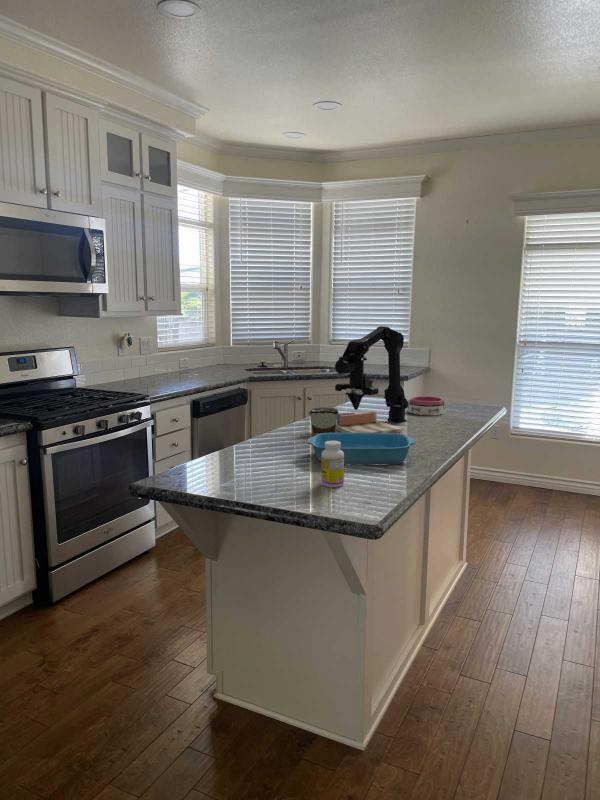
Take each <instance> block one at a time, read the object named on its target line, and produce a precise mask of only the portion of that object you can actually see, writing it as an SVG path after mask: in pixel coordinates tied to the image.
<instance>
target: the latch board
mask: <svg viewBox="0 0 600 800" xmlns="http://www.w3.org/2000/svg"><path fill="white" fill-rule="evenodd" d="M347 414H357V413H356V412H344V413H339V415H338V414H337V423H336V430H337V431H338V432H340V433H397V434H400V433H403V428H402V427H399V426H396V425H392V424H390V423H386V422H384V421H381V420H378V419H376V422H372V423H362V424H353V425H343V426H342V425H339V417H340V415H347ZM399 432H400V433H399Z"/></svg>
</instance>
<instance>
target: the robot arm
mask: <svg viewBox="0 0 600 800" xmlns="http://www.w3.org/2000/svg"><path fill="white" fill-rule="evenodd" d="M404 337H405V336H404V334H402V332H398V331H397V330H394V329H391V328H390V327H389V326H381V325H380V326H378V327H377V328H376V329H374V330H372V331H371V332H369V333H368V334H366V335H365V336H363V337H360V338H358V339H357V338H356V339H353V340H350V341H349V342H348V343H347V346H346V348H345V350H344V352H343V354H342V356H338V360H337V361H336V362H335V364H334V368H335V371H336V373H337V374H338V375H344V374H347V378H348V379H349V380H348V381H349V383H347V382H340V383H336V385H335V387H334V390H335V392H342V390H343V391H344V390H345V391H346V392H345V395H346V396H347V397H348V399H349V401H350V403H351V405H352V407H353V409H354V411H357V410H359V406H360V405H361V402H362V399H363V398H364V396H373V395H378V394H379V388H378V386H373V384H374V383H373V382H374V381H373V380H372V379H370V378H367V375H366V373H365V374H364V369H365V368H364V367H365V366H364V365H365V364H364V362H365V361H367V360H368V358H367V357H366V355H365V354H367V353H368V352H369V351H370V347H372V346H374V345H375V344H376V343H378V342H379V341H383V346H384V349H385V350H386V352H387V356H388V360H387V361H388V386H387V388H386V389H384V391H383V392H384V399H385V400H384V401H385V405H386V407H387V408H389V410H388V418H386V419H387V421H389V422H393V423H402V422H408V420H407V419H406V409H407V410H408V407H409V402H410V401H408V400H407V398H406V395H405V390H404V388H403V387H402V385H401V357H400V356H401V355H400V353H401V351H402V350H403V348H404V343H405V342H404V341H405V338H404Z"/></svg>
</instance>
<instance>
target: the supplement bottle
mask: <svg viewBox="0 0 600 800" xmlns="http://www.w3.org/2000/svg"><path fill="white" fill-rule="evenodd" d="M340 447H341V442H339V441H326V442H325V450H324V451H323V452H322V454H321V461H320V462H321V466H320V467H321V477H320V479H321V480H320V481H321V482H320V483H321V484H322V486H323V485H324V487H326V486H327V487H326V488H333V487H334V488H340V487H342V486H343V485H344V483H345V465H344V453H343V451H342V450H340ZM339 486H340V487H339Z"/></svg>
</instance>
